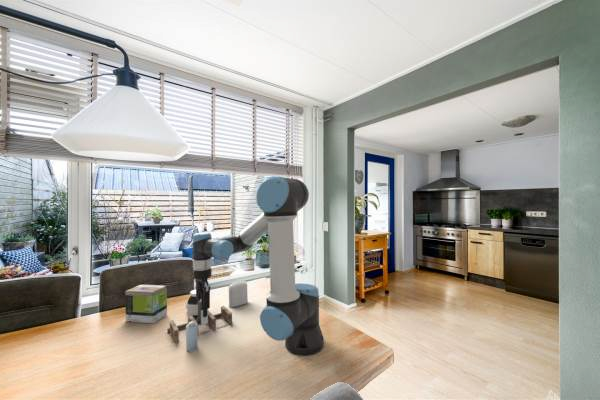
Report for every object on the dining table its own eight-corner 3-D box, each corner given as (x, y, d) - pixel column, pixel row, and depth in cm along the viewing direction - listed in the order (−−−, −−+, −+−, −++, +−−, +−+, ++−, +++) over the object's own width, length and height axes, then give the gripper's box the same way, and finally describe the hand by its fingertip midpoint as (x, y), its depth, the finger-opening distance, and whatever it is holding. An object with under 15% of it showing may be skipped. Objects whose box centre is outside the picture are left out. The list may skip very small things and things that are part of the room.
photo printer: (230, 308, 130) (230, 285, 130) (227, 305, 134) (227, 282, 134) (248, 303, 137) (248, 280, 137) (245, 300, 140) (245, 279, 140)
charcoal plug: (208, 322, 109) (208, 299, 109) (199, 325, 107) (199, 301, 106) (206, 318, 112) (205, 296, 112) (196, 321, 110) (196, 298, 110)
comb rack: (233, 323, 115) (233, 312, 115) (172, 343, 99) (172, 331, 99) (224, 314, 123) (224, 304, 123) (167, 332, 108) (167, 320, 108)
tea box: (167, 314, 125) (167, 284, 125) (152, 324, 115) (152, 292, 115) (141, 312, 127) (141, 283, 127) (124, 322, 118) (124, 290, 117)
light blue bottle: (199, 348, 96) (198, 323, 96) (187, 353, 93) (187, 326, 93) (196, 344, 99) (195, 319, 99) (185, 348, 96) (184, 322, 96)
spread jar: (199, 319, 119) (198, 295, 119) (177, 318, 121) (177, 294, 120) (212, 308, 130) (212, 286, 130) (192, 307, 132) (192, 285, 132)
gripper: (217, 271, 105) (218, 326, 105) (205, 262, 118) (205, 311, 118) (199, 274, 100) (199, 332, 100) (188, 265, 113) (188, 316, 114)
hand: (202, 321), depth 109 cm, fingers closed on charcoal plug, 4 cm apart
